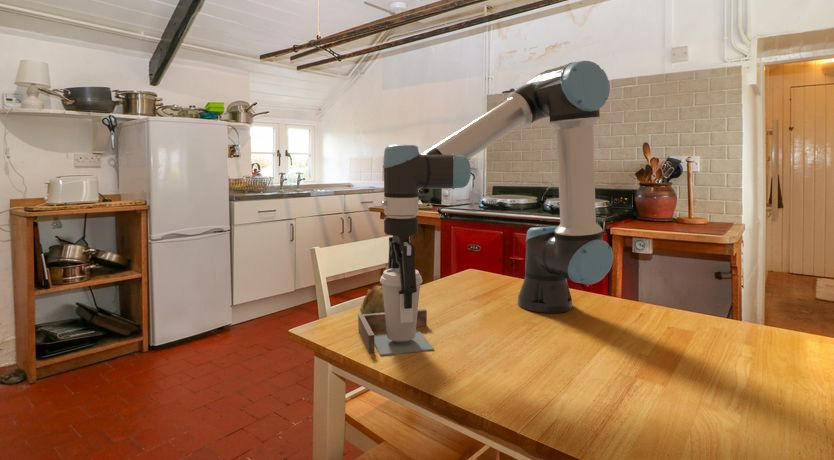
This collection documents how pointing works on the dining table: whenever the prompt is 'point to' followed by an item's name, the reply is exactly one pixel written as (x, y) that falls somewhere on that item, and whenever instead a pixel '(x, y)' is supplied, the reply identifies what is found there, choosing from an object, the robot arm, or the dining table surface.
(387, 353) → the pad
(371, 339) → the walnut corner walls
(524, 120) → the robot arm
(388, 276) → the coffee cup
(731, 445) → the dining table surface
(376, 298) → the pastry
